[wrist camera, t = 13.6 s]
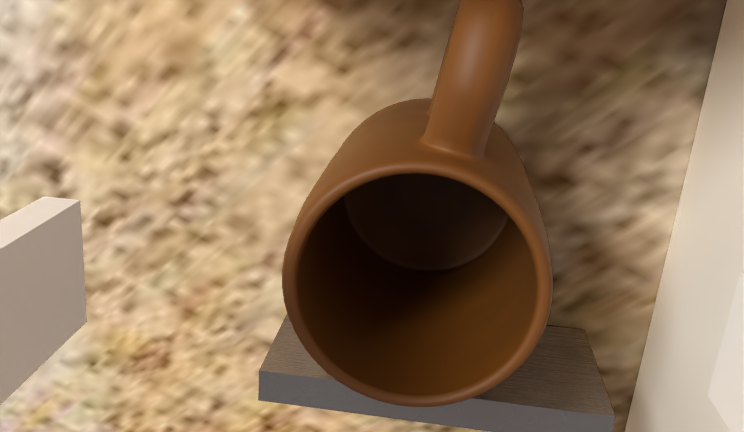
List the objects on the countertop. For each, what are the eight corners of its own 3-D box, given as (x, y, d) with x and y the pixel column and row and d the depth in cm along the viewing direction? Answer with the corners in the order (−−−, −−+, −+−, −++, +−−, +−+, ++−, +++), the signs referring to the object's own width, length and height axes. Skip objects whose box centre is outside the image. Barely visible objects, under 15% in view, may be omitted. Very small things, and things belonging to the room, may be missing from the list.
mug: (384, -52, 25) (344, -62, 16) (593, 2, 25) (668, 22, 16) (314, 251, 29) (252, 373, 20) (493, 299, 29) (509, 444, 20)
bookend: (291, 391, 32) (256, 483, 26) (296, 294, 30) (259, 370, 24) (564, 428, 31) (588, 531, 25) (584, 329, 29) (615, 417, 23)
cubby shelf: (214, 446, 33) (90, 693, 22) (217, -136, 25) (17, -221, 14) (642, 506, 32) (745, 805, 20) (797, -93, 23) (1118, -149, 12)
